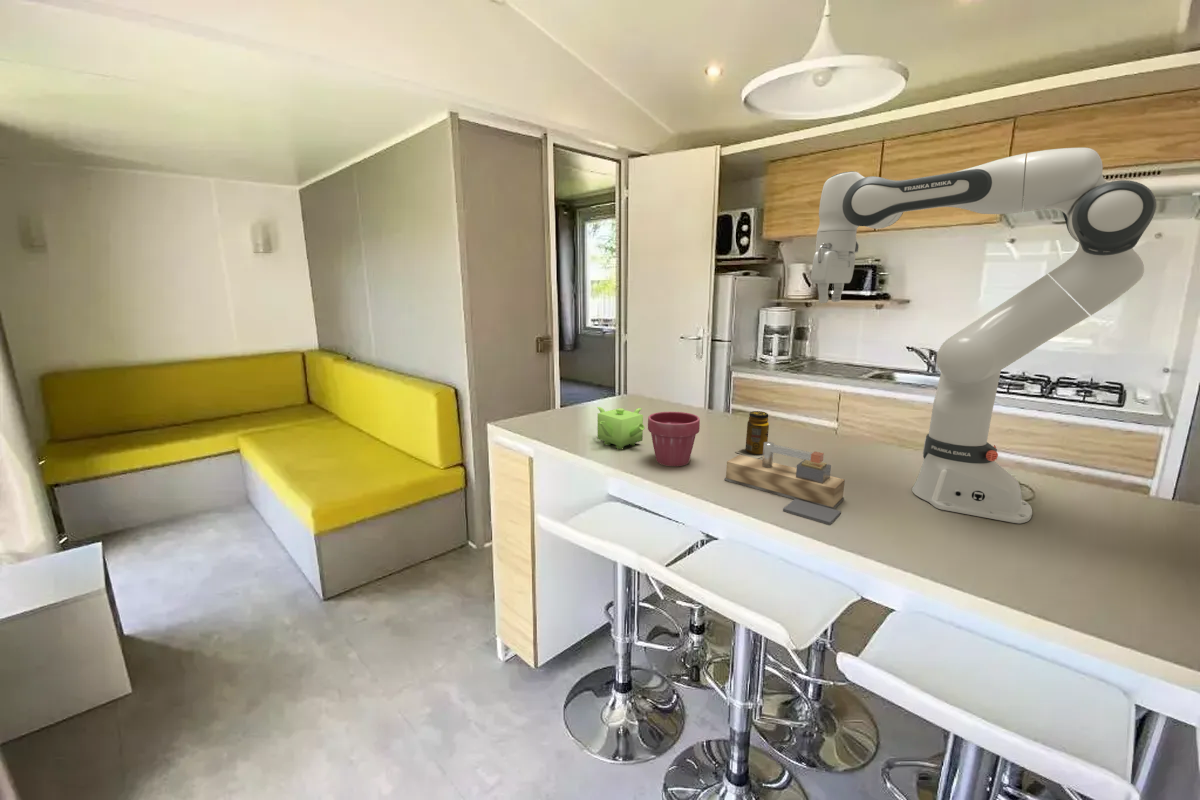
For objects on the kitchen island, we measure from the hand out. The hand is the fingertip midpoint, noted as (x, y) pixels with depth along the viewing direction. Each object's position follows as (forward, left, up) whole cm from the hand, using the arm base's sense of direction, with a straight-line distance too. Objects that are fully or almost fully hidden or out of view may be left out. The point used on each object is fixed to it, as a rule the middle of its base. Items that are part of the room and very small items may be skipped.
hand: (829, 302), depth 130 cm
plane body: (+1, +20, -44) cm, 48 cm away
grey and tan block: (-6, +20, -39) cm, 44 cm away
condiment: (+18, -2, -44) cm, 48 cm away
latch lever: (-1, +20, -39) cm, 44 cm away
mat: (-9, +28, -44) cm, 53 cm away
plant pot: (+32, +20, -44) cm, 58 cm away
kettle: (+53, +17, -44) cm, 71 cm away
